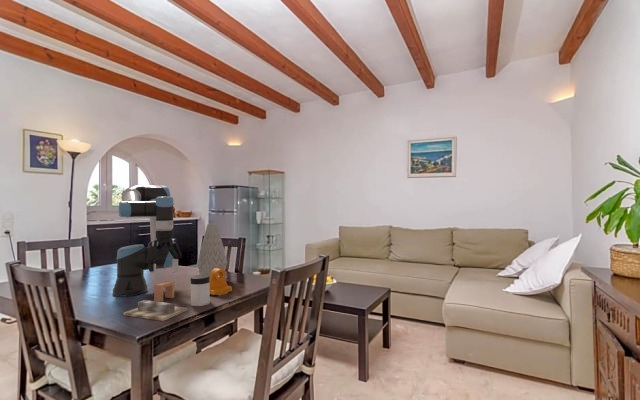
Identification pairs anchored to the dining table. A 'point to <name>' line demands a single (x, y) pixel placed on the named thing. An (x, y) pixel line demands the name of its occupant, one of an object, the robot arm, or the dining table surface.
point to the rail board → (154, 314)
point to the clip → (159, 290)
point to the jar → (200, 290)
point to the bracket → (218, 282)
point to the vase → (211, 251)
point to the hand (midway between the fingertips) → (164, 275)
